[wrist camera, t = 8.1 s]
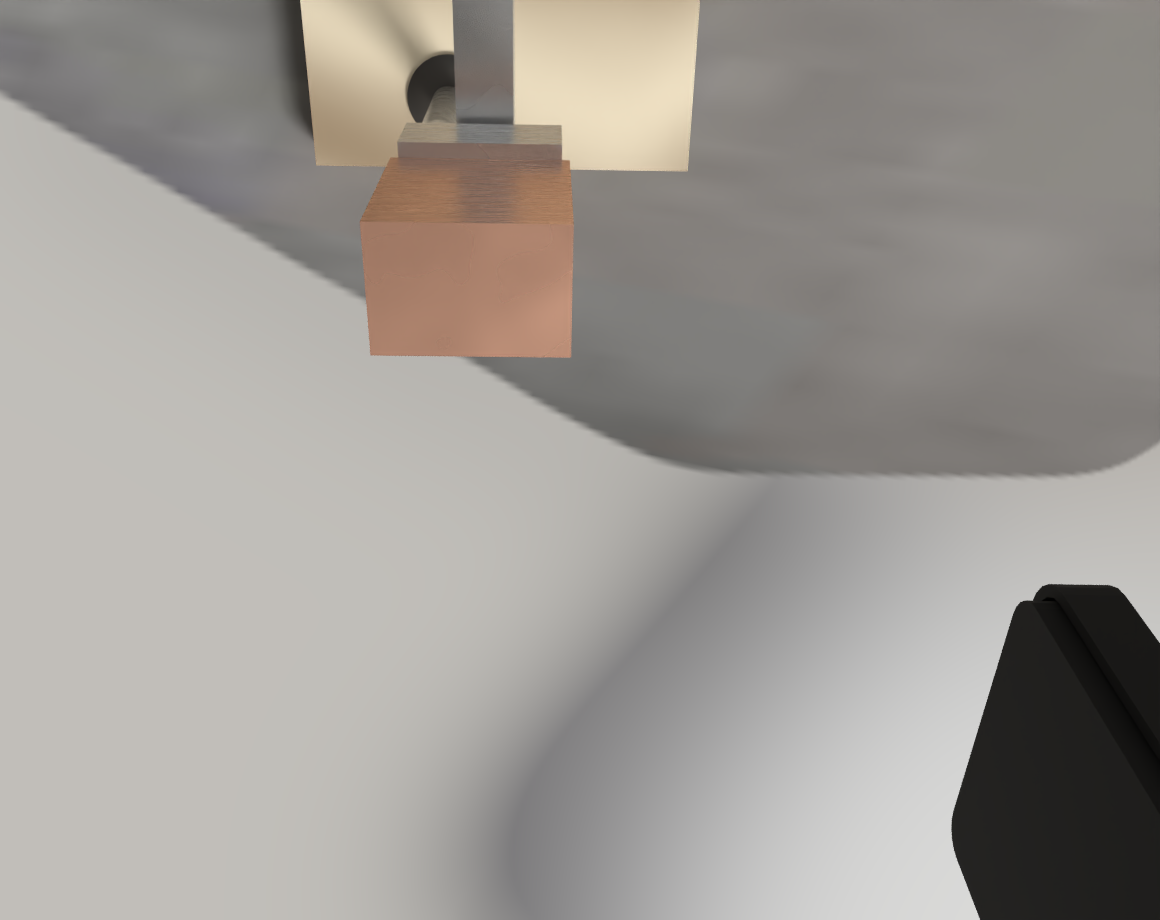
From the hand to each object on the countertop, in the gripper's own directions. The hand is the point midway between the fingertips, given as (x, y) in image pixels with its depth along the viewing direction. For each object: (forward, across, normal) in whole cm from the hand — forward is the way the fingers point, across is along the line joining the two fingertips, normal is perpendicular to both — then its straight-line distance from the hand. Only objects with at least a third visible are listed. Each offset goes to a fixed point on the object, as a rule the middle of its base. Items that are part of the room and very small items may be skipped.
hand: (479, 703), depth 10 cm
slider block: (+25, +1, 0) cm, 25 cm away
